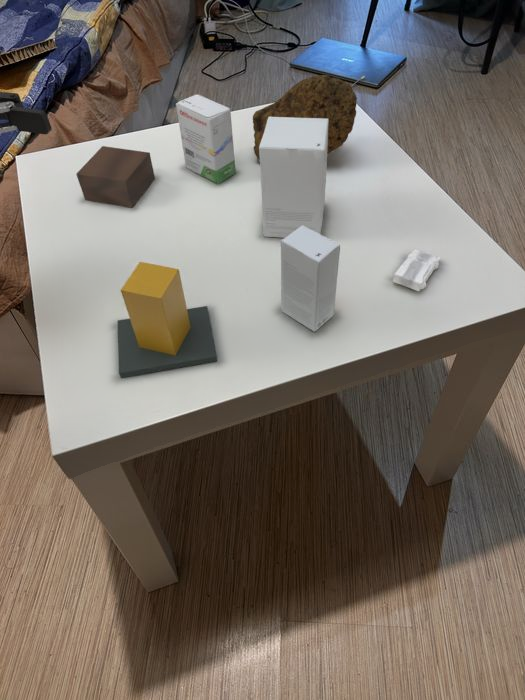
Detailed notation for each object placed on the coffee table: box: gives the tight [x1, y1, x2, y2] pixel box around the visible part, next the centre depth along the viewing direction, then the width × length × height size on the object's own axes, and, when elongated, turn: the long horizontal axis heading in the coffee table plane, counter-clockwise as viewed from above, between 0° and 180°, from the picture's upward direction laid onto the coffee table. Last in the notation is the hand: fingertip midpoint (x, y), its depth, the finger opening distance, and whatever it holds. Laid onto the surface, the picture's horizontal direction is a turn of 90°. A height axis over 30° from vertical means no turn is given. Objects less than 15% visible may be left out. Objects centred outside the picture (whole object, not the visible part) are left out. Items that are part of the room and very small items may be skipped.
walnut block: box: [76, 145, 156, 209], centre depth 89 cm, size 9×9×5 cm
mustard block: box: [120, 261, 191, 356], centre depth 63 cm, size 5×5×10 cm
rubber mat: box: [117, 305, 218, 379], centre depth 67 cm, size 12×9×1 cm
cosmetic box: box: [280, 225, 341, 333], centre depth 66 cm, size 6×4×12 cm
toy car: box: [392, 248, 441, 292], centre depth 74 cm, size 5×8×2 cm, turn 147°
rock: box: [252, 74, 358, 160], centre depth 92 cm, size 13×12×20 cm
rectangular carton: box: [259, 117, 328, 239], centre depth 77 cm, size 9×9×15 cm
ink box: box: [175, 93, 237, 185], centre depth 89 cm, size 8×5×12 cm, turn 47°
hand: (23, 144), depth 50 cm, fingers open, 8 cm apart
